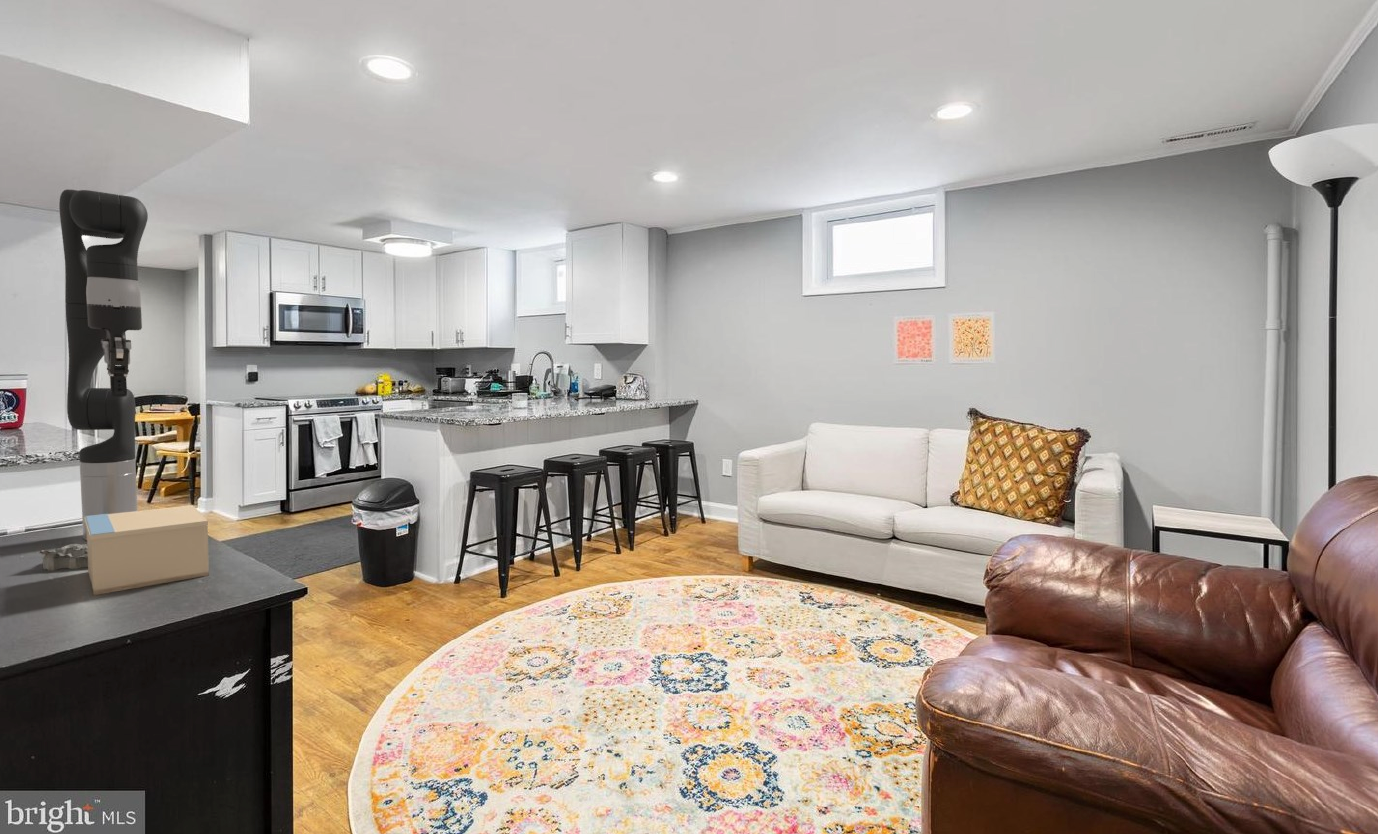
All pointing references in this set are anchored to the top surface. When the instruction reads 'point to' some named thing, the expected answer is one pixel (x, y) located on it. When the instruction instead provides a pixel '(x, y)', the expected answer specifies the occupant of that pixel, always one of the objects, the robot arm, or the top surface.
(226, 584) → the top surface
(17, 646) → the top surface
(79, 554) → the egg carton
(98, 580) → the cardboard box
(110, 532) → the box lid
